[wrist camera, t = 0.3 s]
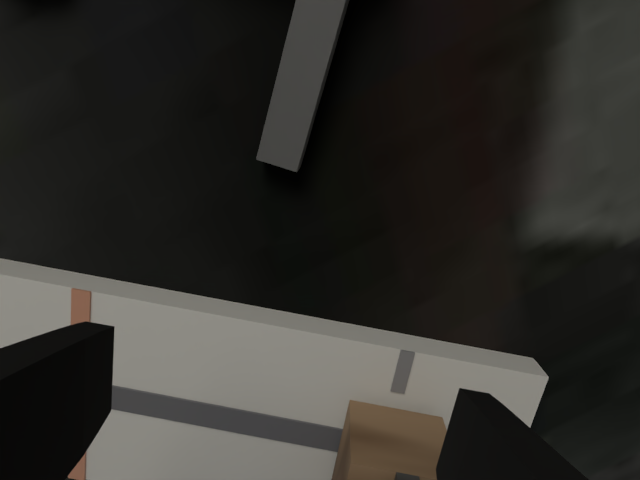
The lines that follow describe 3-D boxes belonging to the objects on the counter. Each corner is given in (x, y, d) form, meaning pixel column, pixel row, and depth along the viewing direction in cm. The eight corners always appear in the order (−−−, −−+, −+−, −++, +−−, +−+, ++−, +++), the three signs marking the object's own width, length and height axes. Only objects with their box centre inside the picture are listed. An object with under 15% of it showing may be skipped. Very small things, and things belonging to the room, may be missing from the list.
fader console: (473, 527, 22) (483, 557, 20) (-55, 426, 22) (-85, 448, 20) (533, 358, 19) (549, 378, 18) (-69, 245, 19) (-105, 255, 18)
